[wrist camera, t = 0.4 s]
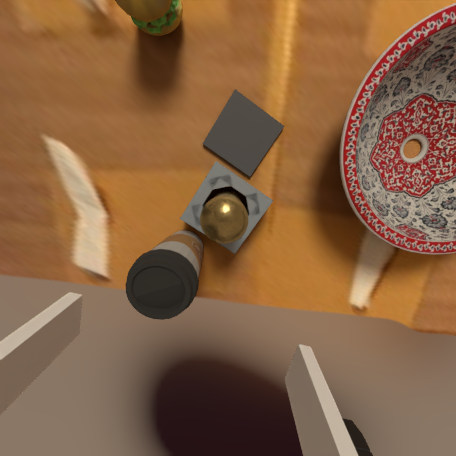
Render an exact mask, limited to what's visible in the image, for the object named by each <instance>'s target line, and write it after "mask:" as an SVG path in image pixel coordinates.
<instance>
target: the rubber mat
mask: <svg viewBox="0 0 456 456" xmlns="http://www.w3.org/2000/svg"><path fill="white" fill-rule="evenodd" d="M283 127H284V126H283V125H282V124H281V123H279V122H278V121H277V120H275V119H274V118H273V117H271V116H270V115H269V114H267V113H266V112H265V111H263V110H262V109H261V108H259V107H258V106H257V105H255V104H254V103H253V102H251V101H250V100H249V99H247V98H246V97H245V96H243V95H242V94H241V93H239V92H238V91H237V90H235V91H234V92H233V94H232V96H231V97H230V99H229V101H228V102H227V104H226V106H225V107H224V109H223V111H222V112H221V114H220V116H219V117H218V119H217V121H216V122H215V124H214V126H213V127H212V129H211V131H210V132H209V134H208V136H207V137H206V139H205V141H204V142H203V145H205V146H206V147H208V148H209V149H211V150H212V151H213V152H215V153H216V154H218V155H219V156H221V157H222V158H223V159H225V160H226V161H228V162H229V163H231V164H232V165H234V166H235V167H236V168H238V169H239V170H241V171H242V172H244V173H245V174H246V175H248V176H249V177H250V176H251V175H252V173H253V172H254V170H255V169H256V167H257V166H258V164H259V163H260V161H261V160H262V158H263V157H264V155H265V154H266V152H267V151H268V150H269V148H270V147H271V145H272V144H273V142H274V141H275V139H276V138H277V136H278V135H279V133H280V132H281V130H282V129H283Z"/></svg>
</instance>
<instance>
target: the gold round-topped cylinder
mask: <svg viewBox="0 0 456 456" xmlns="http://www.w3.org/2000/svg"><path fill="white" fill-rule="evenodd" d="M200 224H201V228H202V230H203V232H204V233H205V235H206V236H207V237H208V238H210V239H211V240H213V241H215V242H217V243H224V244H226V243H231V242H234V241H236V240H238V239H239V238H240V237H242V236H243V234H244V233H245V231H246V229H247V227H248V213H247V211H246V208H245V207H244V205H243V204H242V203H241V200H240V198H239V196H238V195H237V194H236V193H234V192H232V191H228V190H226V191H221V192H219V193H218V194H217V195H216V196H215V197H214V198H213V199H211V200H210V201H208V202H207V203H206V205H205V206H204V207H203V209H202V212H201V215H200Z"/></svg>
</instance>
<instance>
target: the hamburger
mask: <svg viewBox="0 0 456 456" xmlns="http://www.w3.org/2000/svg"><path fill="white" fill-rule="evenodd" d="M115 1H116V2H117V4H118V5H119V6H120V7H121V8H122V9H123V10H124V11H125V12H126V13H127V14H128V15H130V16H131V18H132V20H133V22H134V24H135V25H137V26H138V27H139V29H140V30H142V31H144V32H145V33H147V34H150V35H154V36H162V35H166V34H168V33H171V32H172V31H173V30H175V29H176V28H177V26H178V25H179V23H180V21H181V18H182V12H183V8H182V2H181V0H115Z"/></svg>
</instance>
